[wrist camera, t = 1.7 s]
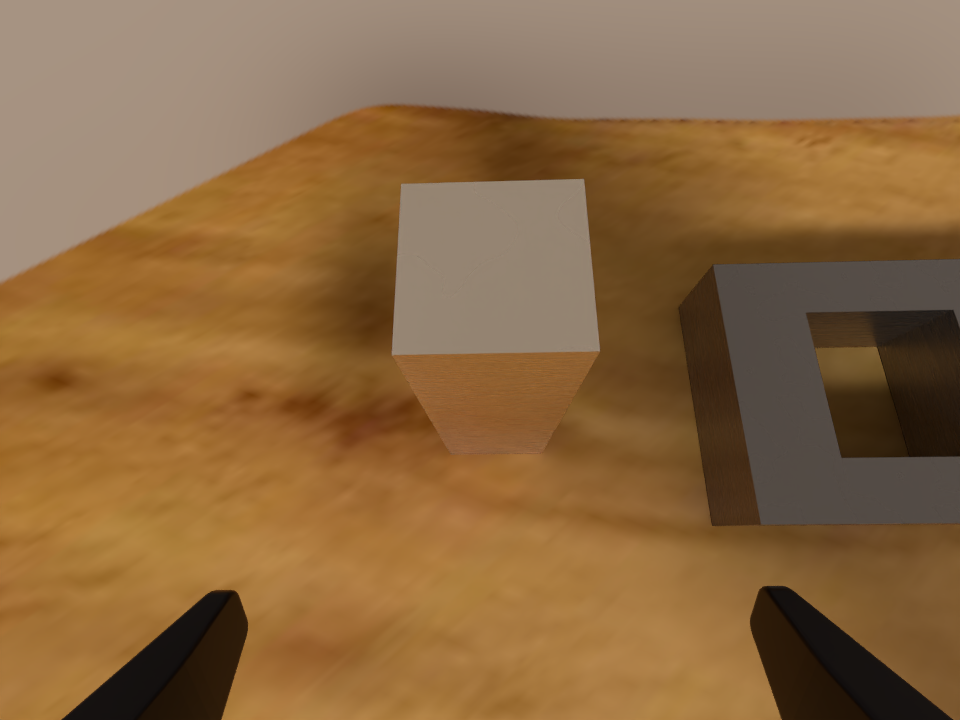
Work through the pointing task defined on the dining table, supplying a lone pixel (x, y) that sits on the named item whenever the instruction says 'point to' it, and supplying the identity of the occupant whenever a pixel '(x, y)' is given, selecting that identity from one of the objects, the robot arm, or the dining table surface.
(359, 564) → the dining table surface
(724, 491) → the grey flat block
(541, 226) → the peg
